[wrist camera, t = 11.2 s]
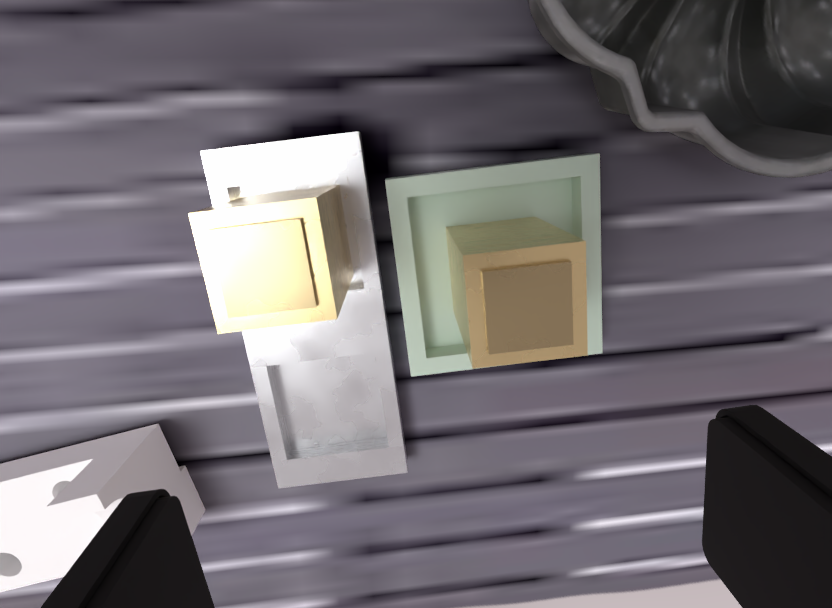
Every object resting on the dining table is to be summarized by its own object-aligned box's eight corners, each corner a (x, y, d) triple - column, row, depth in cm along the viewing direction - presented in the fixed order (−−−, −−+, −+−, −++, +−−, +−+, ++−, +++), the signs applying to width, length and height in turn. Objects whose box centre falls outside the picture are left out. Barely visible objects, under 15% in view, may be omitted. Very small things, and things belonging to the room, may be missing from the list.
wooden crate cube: (445, 227, 28) (463, 256, 20) (535, 216, 28) (588, 242, 20) (453, 312, 30) (473, 371, 22) (539, 302, 30) (590, 358, 22)
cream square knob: (247, 195, 27) (185, 214, 19) (339, 184, 27) (314, 198, 19) (266, 285, 29) (215, 336, 21) (353, 274, 29) (336, 321, 21)
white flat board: (211, 151, 27) (200, 150, 26) (360, 132, 27) (358, 131, 25) (284, 471, 33) (278, 488, 31) (407, 456, 33) (407, 472, 31)
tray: (385, 178, 28) (384, 180, 26) (586, 153, 28) (599, 153, 26) (410, 362, 31) (411, 376, 29) (589, 340, 31) (602, 353, 29)
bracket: (165, 415, 32) (96, 494, 25) (207, 507, 34) (155, 604, 27) (-28, 465, 32) (-151, 555, 25) (25, 552, 34) (-75, 659, 27)
